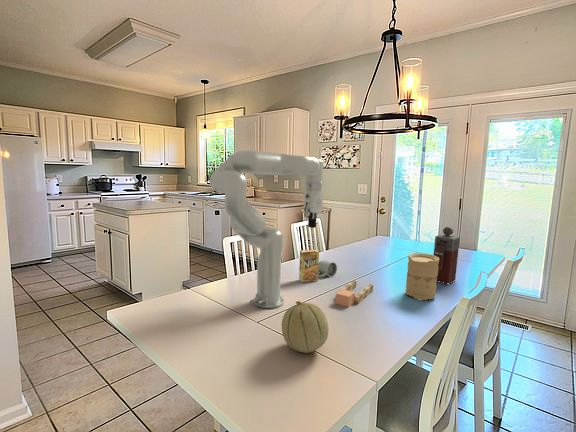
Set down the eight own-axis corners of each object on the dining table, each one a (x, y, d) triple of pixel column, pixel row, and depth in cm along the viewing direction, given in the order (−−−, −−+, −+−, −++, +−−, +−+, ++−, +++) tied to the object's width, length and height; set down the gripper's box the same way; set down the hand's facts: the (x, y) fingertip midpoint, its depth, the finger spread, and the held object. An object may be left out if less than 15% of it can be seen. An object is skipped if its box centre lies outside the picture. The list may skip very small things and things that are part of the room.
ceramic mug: (325, 271, 178) (325, 257, 177) (337, 275, 172) (337, 261, 171) (311, 275, 171) (312, 261, 170) (323, 279, 165) (323, 265, 164)
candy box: (301, 282, 160) (302, 252, 158) (298, 279, 164) (299, 250, 162) (318, 281, 163) (319, 251, 160) (315, 278, 167) (316, 249, 164)
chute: (358, 304, 136) (358, 297, 136) (336, 298, 142) (336, 291, 141) (372, 291, 151) (373, 284, 151) (352, 286, 157) (353, 280, 156)
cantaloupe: (323, 366, 93) (325, 317, 91) (274, 357, 97) (275, 310, 95) (331, 340, 108) (333, 297, 105) (288, 333, 111) (289, 291, 109)
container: (428, 303, 139) (432, 262, 136) (400, 295, 147) (403, 256, 144) (439, 295, 148) (443, 257, 145) (412, 288, 156) (415, 251, 153)
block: (348, 307, 133) (349, 296, 132) (335, 303, 136) (335, 293, 136) (354, 302, 138) (355, 292, 137) (341, 298, 141) (341, 289, 141)
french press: (429, 281, 166) (434, 227, 162) (437, 276, 174) (442, 224, 170) (447, 286, 160) (453, 229, 156) (455, 280, 168) (461, 227, 163)
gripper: (312, 187, 137) (311, 230, 140) (328, 186, 149) (327, 226, 152) (297, 186, 141) (296, 228, 144) (314, 185, 153) (312, 224, 156)
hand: (312, 227), depth 148 cm, fingers closed
